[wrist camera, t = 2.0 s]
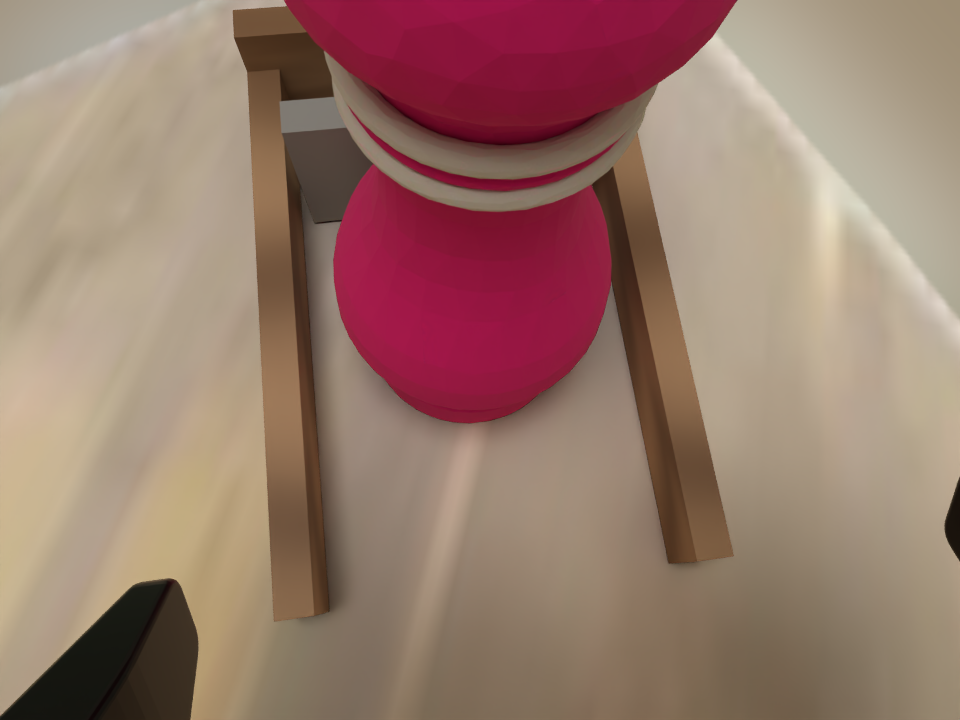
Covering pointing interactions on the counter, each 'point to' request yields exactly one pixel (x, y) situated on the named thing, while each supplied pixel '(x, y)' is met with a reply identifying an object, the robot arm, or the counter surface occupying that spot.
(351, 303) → the pepper mill
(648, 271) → the lane
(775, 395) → the counter surface
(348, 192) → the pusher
